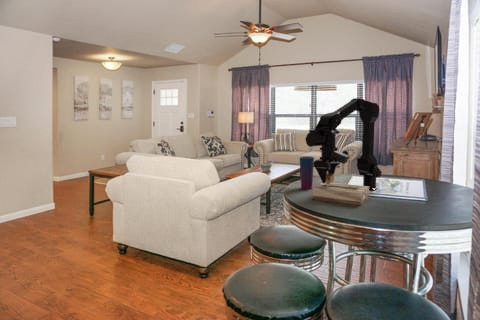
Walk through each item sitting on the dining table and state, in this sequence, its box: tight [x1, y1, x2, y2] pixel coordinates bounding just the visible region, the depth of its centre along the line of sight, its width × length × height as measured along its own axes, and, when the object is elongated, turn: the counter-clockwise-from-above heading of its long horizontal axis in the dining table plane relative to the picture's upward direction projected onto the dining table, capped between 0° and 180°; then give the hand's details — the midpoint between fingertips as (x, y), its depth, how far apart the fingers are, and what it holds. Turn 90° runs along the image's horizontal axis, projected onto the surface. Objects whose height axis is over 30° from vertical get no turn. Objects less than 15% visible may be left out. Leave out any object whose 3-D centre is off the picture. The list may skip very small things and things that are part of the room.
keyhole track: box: [312, 182, 370, 206], centre depth 152 cm, size 13×20×5 cm, turn 57°
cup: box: [299, 155, 315, 191], centre depth 171 cm, size 7×7×15 cm
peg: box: [326, 172, 335, 187], centre depth 155 cm, size 4×4×8 cm
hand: (327, 181), depth 155 cm, fingers open, 9 cm apart
